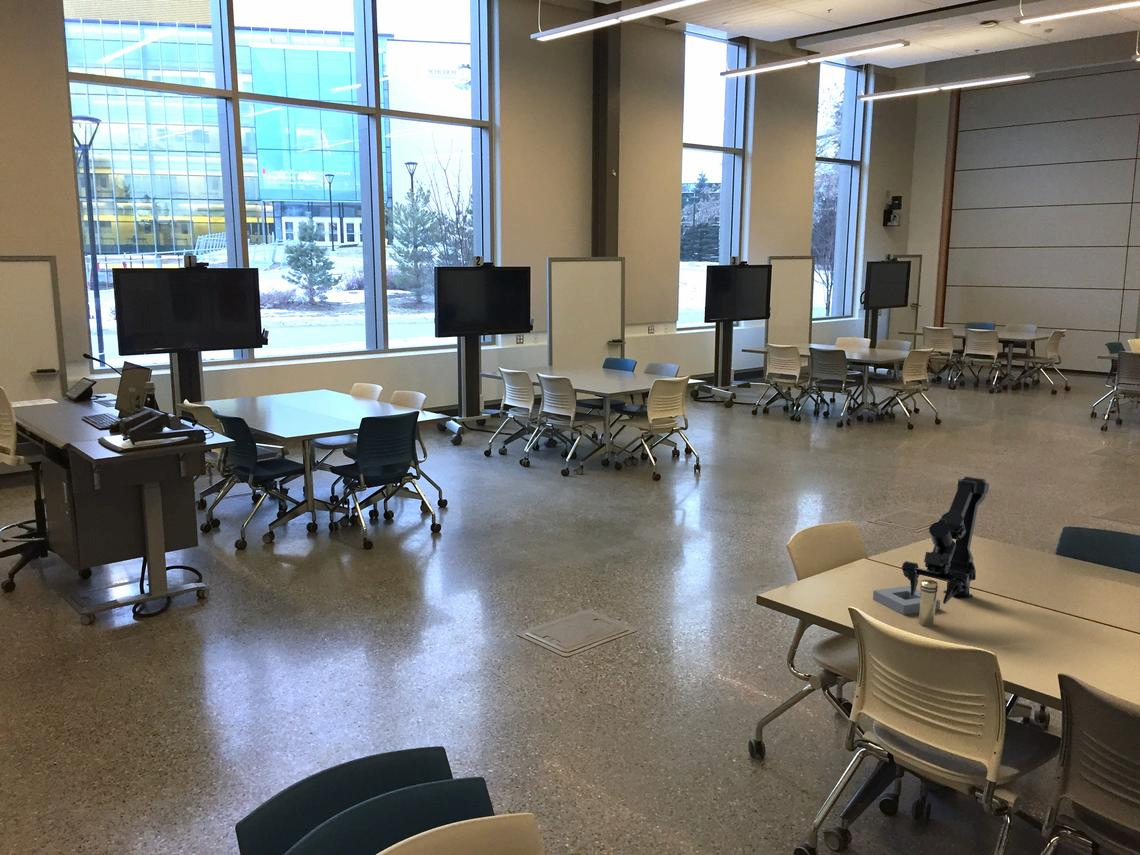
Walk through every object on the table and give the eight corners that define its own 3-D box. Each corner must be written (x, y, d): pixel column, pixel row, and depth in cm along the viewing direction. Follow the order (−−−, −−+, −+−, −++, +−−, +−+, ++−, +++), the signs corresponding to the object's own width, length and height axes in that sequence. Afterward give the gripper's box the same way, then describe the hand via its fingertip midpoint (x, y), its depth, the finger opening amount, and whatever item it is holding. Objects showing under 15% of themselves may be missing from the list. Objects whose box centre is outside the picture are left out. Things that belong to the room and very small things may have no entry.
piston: (926, 620, 267) (930, 578, 264) (938, 625, 262) (941, 583, 260) (914, 621, 265) (917, 580, 263) (925, 627, 261) (928, 585, 259)
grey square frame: (907, 594, 288) (908, 585, 288) (939, 609, 275) (940, 600, 275) (872, 599, 283) (873, 590, 283) (903, 614, 271) (904, 605, 270)
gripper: (906, 535, 269) (891, 579, 263) (971, 547, 258) (957, 593, 251) (912, 554, 277) (897, 597, 270) (975, 567, 265) (962, 612, 258)
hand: (927, 599), depth 262 cm, fingers open, 9 cm apart
